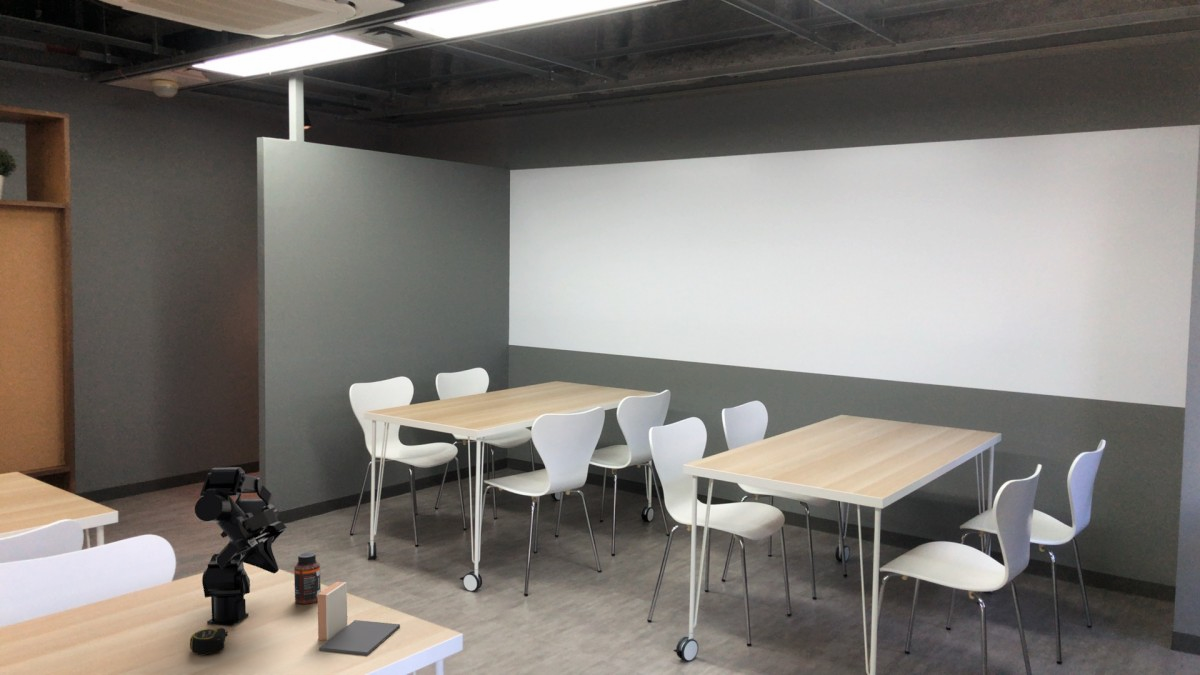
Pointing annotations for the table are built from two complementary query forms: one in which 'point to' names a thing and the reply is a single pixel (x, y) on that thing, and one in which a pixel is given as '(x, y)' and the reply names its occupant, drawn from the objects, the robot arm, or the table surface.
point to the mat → (360, 637)
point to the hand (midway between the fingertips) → (276, 571)
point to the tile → (332, 610)
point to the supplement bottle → (307, 578)
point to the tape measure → (208, 641)
